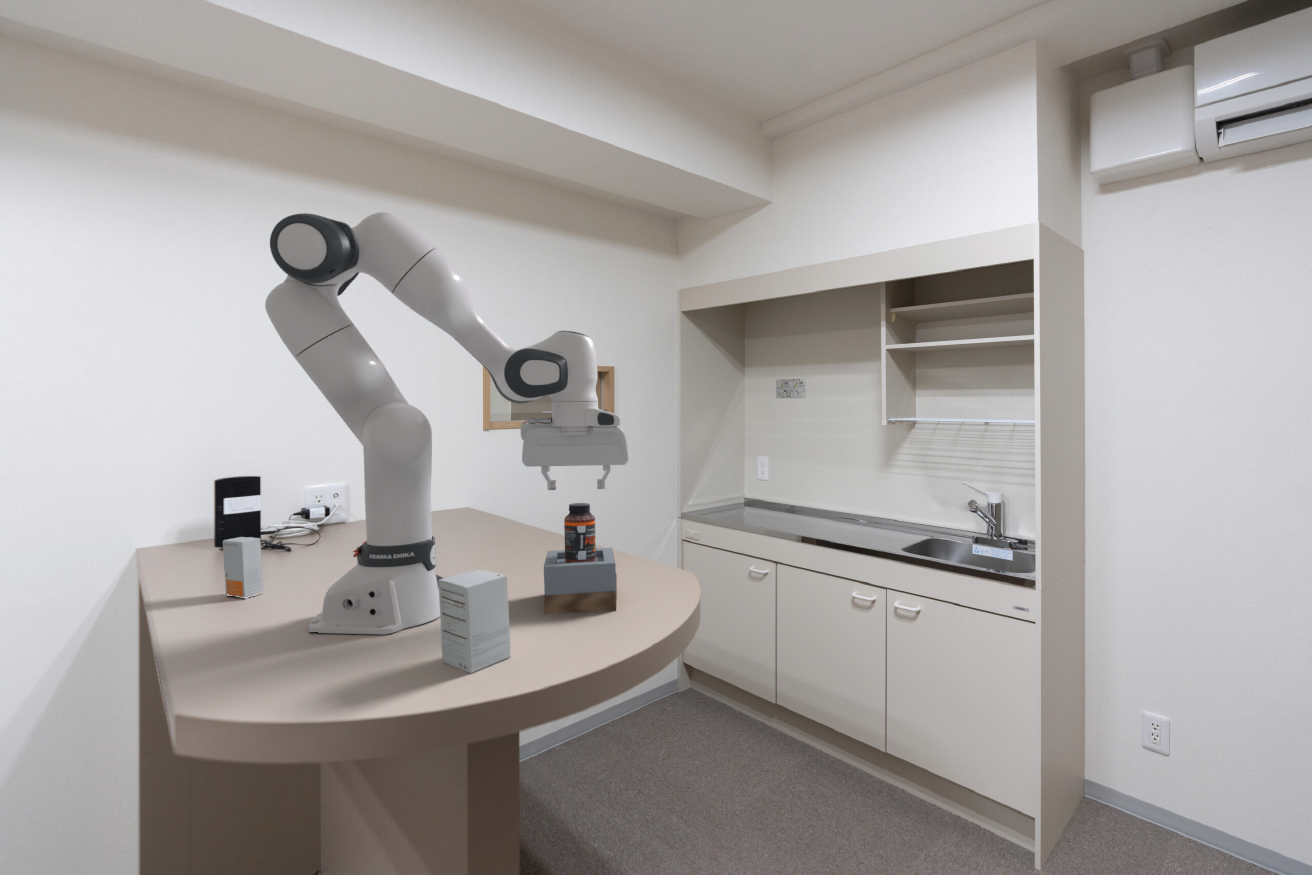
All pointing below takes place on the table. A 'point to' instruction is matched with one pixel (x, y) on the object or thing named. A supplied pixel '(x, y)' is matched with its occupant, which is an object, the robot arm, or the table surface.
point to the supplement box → (474, 619)
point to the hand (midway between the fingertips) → (576, 489)
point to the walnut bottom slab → (581, 602)
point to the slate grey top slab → (579, 573)
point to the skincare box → (243, 566)
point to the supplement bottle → (579, 534)
